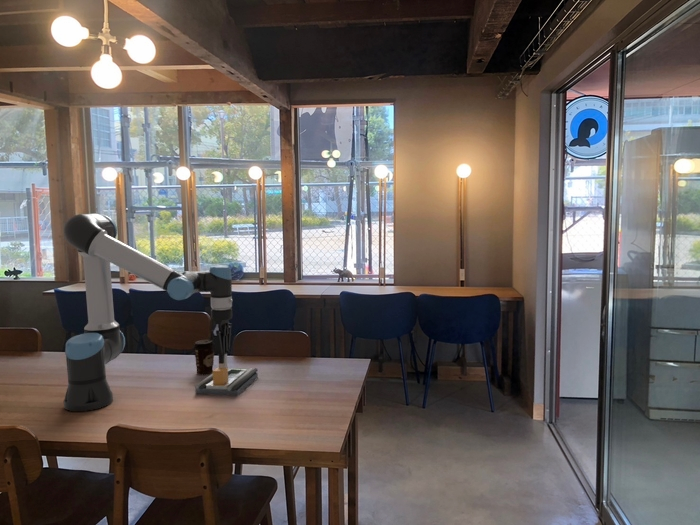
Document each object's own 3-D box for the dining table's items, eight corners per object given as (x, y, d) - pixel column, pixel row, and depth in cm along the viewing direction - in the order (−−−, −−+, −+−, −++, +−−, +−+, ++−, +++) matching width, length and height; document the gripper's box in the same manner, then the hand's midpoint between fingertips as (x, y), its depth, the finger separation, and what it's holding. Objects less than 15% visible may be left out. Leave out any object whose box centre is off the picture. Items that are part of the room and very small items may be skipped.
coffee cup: (219, 370, 218) (218, 339, 217) (212, 376, 210) (210, 344, 209) (198, 369, 219) (197, 338, 218) (190, 376, 211) (189, 344, 209)
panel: (237, 395, 188) (237, 387, 188) (195, 393, 191) (195, 384, 191) (257, 377, 208) (257, 369, 207) (219, 375, 211) (218, 367, 210)
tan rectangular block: (223, 387, 191) (223, 371, 190) (213, 386, 192) (212, 370, 191) (228, 383, 195) (227, 367, 194) (218, 383, 196) (217, 367, 195)
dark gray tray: (235, 391, 187) (235, 387, 187) (194, 389, 190) (194, 385, 190) (257, 371, 209) (257, 368, 208) (220, 370, 211) (220, 366, 211)
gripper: (223, 311, 187) (225, 377, 189) (238, 305, 200) (239, 366, 202) (203, 311, 188) (205, 376, 191) (219, 304, 201) (221, 365, 203)
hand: (223, 371), depth 196 cm, fingers closed
